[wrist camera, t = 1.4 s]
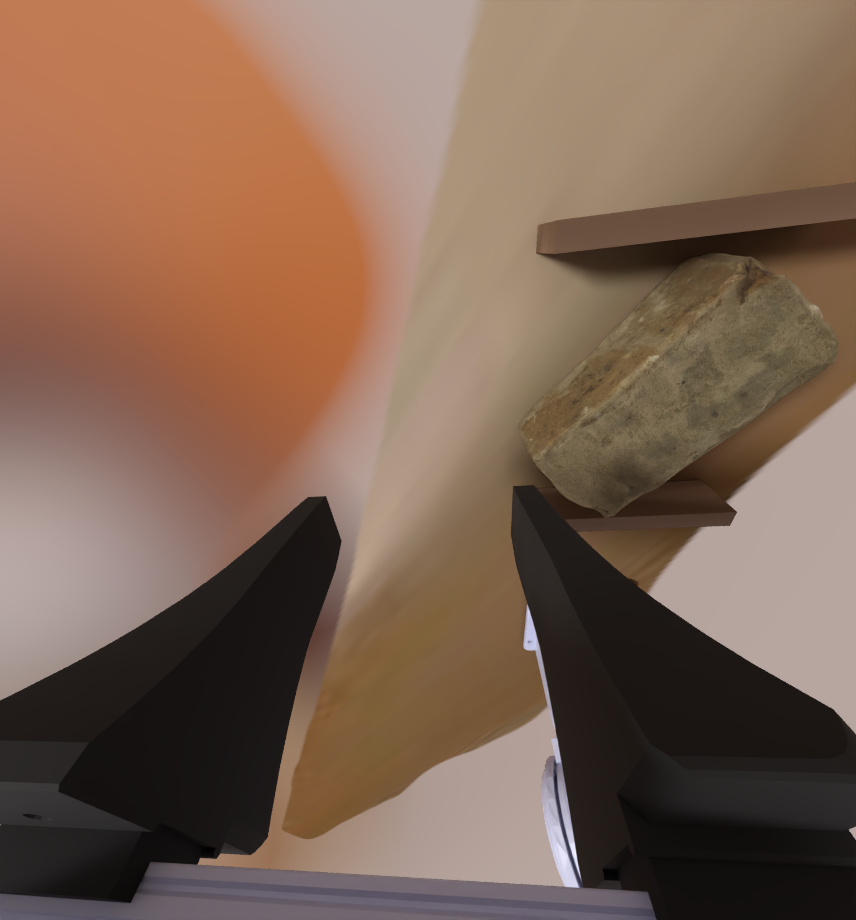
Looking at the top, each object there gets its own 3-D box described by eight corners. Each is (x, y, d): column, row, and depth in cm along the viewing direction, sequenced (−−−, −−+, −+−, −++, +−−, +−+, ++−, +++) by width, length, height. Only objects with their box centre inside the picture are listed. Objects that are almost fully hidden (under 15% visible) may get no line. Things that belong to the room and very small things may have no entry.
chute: (695, 492, 21) (729, 525, 19) (520, 500, 22) (530, 533, 20) (824, 189, 13) (915, 174, 10) (537, 225, 14) (558, 220, 11)
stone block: (759, 324, 16) (870, 352, 12) (572, 477, 21) (602, 534, 17) (687, 240, 14) (787, 239, 10) (504, 429, 20) (520, 479, 15)
